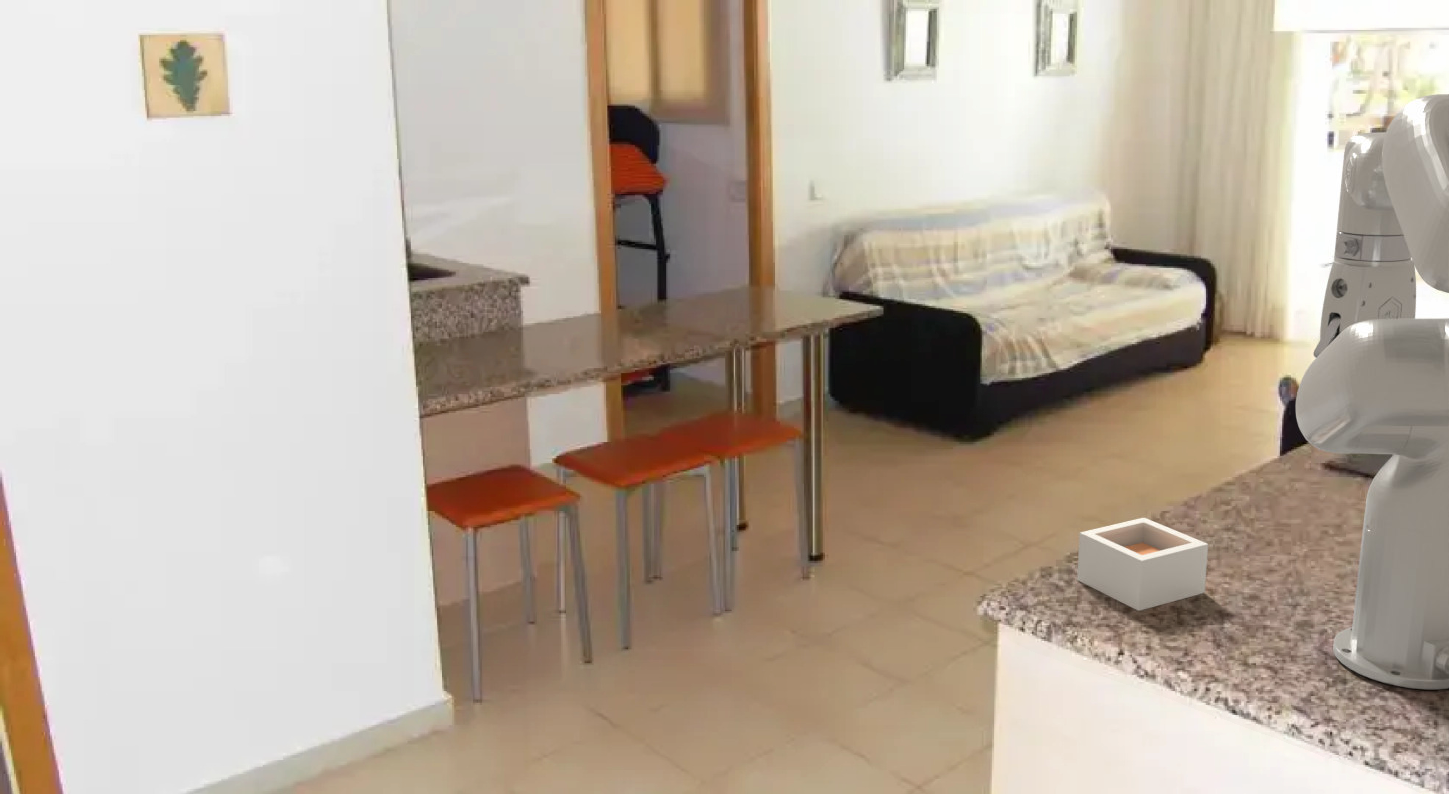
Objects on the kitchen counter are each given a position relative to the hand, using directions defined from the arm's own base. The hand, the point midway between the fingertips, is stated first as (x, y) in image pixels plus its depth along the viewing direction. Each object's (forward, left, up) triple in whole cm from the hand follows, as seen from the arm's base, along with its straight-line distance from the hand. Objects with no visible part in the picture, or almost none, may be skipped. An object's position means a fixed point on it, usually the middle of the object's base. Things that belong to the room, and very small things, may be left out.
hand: (1356, 408), depth 142 cm
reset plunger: (+10, +21, -20) cm, 31 cm away
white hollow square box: (+10, +21, -21) cm, 31 cm away
